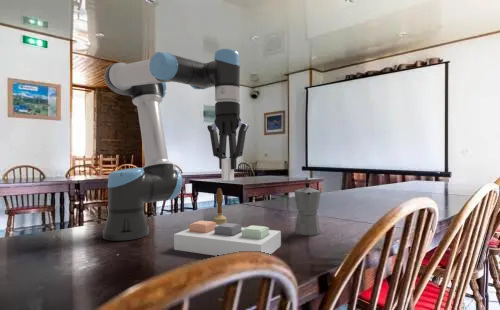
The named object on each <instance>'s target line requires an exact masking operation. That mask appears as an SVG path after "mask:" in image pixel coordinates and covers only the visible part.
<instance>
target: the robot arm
mask: <svg viewBox="0 0 500 310" xmlns="http://www.w3.org/2000/svg"><path fill="white" fill-rule="evenodd" d="M240 62H241V61H240V54H239V52H238V51H237V50H235V49H231V48H220V49H218V50H216V51H215V53H214V60H211V61H209V62H201V61H198V60H193V59H190V58H185V57H183V56H179V55H176V54H171V53H170V52H164V51H155V53H154V54H153V55H152V56H151V58H149V59H145V60H140V61H136V62H135V61H133V62H130V63H126V62H122V61H121V62H115V63H112V64H110V65H109V66H107V67H106V69H105V72H104V75H103V76H104V77H103V78H104V81H105V84H106V86H107V88H109V89H110V90H111V91H112V92H114V93H115V94H118V95H122V96H128V97H131V102H132V104H133V105H134V106H136V108H137V113H138V122H139V127H140V133H141V141H142V149H143V154H144V155H143V156H144V162H145V165H144V166H143V167H131V168H123V169H117V170H114V171H111V172H110V173H109V174H108V176H107V177H108V178H107V179H108V180H107V212H108V215H107V218H106V222H105V226H104V228H103V230H102V239H104V240H106V241H112V242H113V241H119V242H120V241H121V242H122V241H130V240H136V239H140V238H144V237H147V236H148V235H149V234H150V226H149V225H148V222H147V219H146V218H147V217H146V216H145V212H144V211H145V210H144V207H145V204H149V203H155V202H167V201H171V200H174V199H176V198H177V197H178V196H179V194H180V192H181V190H182V186H183V177H182V174H181V173H180V171H179V170H177V169H175V168H174V167H175V166H174V163H172V161H170V160H169V156H168V150H167V143H166V137H165V131H164V130H165V129H164V125H163V120H162V119H163V118H162V113H161V107H160V104H161V103H162V102H163V98H165V96H166V94H167V92H166V90H167V83H171V82H173V83H178V84H184V85H189V86H190V87H191V88H192V89H194V90H206V89H208V88H212V87H213V88H214V101H215V104H214V115H215V119H214V122H213V123H211V124H208V125H207V127H206V128H207V130H208V132H209V136H210V142H211V148H212V149H211V150H212V155H213V157H215V158H218V163H219V164H218V168H219V170H221V181H227V182H230V181H235V170H236V169H237V159H238V158H240V157H242V156H243V154H244V153H243V152H244V147H245V140H246V133H247V131H248V129H249V124H247V123H245V122H242V119H241V117H240V116H241V105H240V101H241V94H240V93H241V92H240V84H241V83H240V82H241V81H240V75H241V74H240V72H241V71H240V69H241V64H240ZM237 130H238V132H237ZM217 131H218V132H217ZM227 139H228V140H227ZM227 141H228V146H229V147H228V149H229V156H226V155H227Z"/></svg>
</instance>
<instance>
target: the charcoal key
mask: <svg viewBox="0 0 500 310" xmlns="http://www.w3.org/2000/svg"><path fill="white" fill-rule="evenodd" d="M241 227H242V224H239V223H232V222H231V223H230V222H227V223H223V224H221V225H218V226H216V227H215V234H216V235H225V236H235V235H237V234H239V233H241Z"/></svg>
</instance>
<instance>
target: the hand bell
mask: <svg viewBox="0 0 500 310" xmlns="http://www.w3.org/2000/svg"><path fill="white" fill-rule="evenodd" d="M215 200H216V205H217V215H216V216H214V217H213V222H216V225H221V224H223V223H228V221H227V217H226V216H224V215H223V201H224V195H223V191H222V188H220V187H219V188H217V190H216V194H215Z"/></svg>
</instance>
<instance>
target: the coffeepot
mask: <svg viewBox="0 0 500 310" xmlns="http://www.w3.org/2000/svg"><path fill="white" fill-rule="evenodd" d="M304 185H305V187H302V188H299V189H296V190H294V192H293V193H294V198H295V206H296V209H297V215H296V219H295V227H294V232H295V234H297V235H301V236H317V235H319V234H321V232H322V231H321V225H320V221H319V215H318V210H319V205H320V198H321V192H322V191H321V190H318V189H315V188H312V187H310V182H305V183H304Z"/></svg>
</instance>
